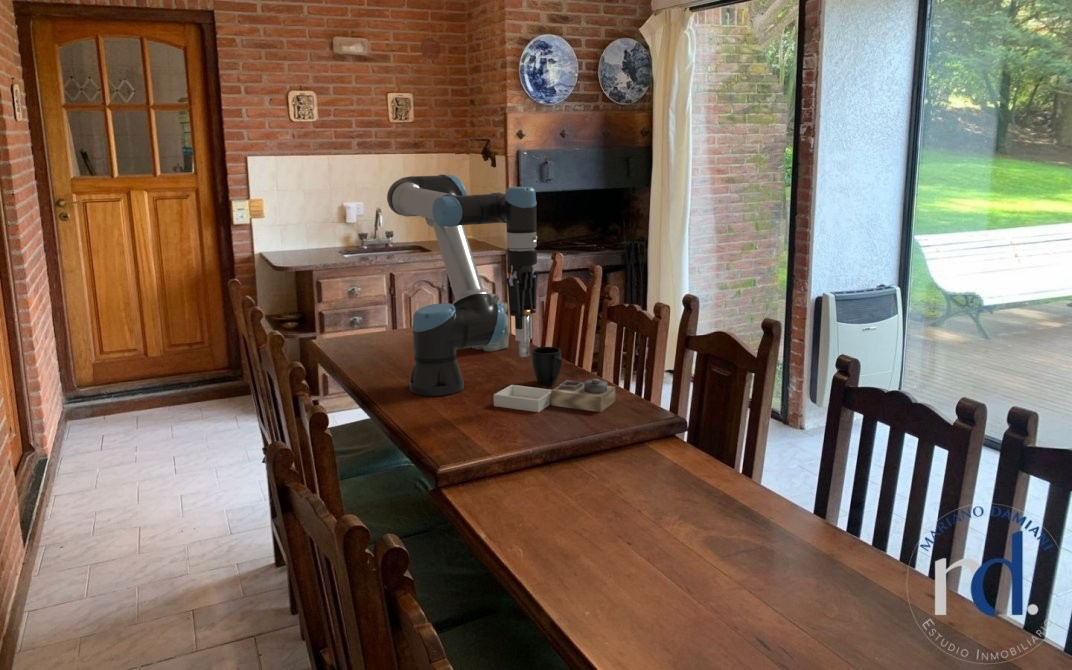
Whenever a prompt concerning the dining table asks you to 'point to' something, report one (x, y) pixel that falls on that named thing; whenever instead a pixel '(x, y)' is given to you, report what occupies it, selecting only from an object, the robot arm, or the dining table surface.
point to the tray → (523, 398)
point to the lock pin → (525, 346)
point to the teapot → (504, 340)
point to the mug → (546, 364)
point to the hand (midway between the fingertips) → (523, 339)
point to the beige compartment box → (583, 395)
